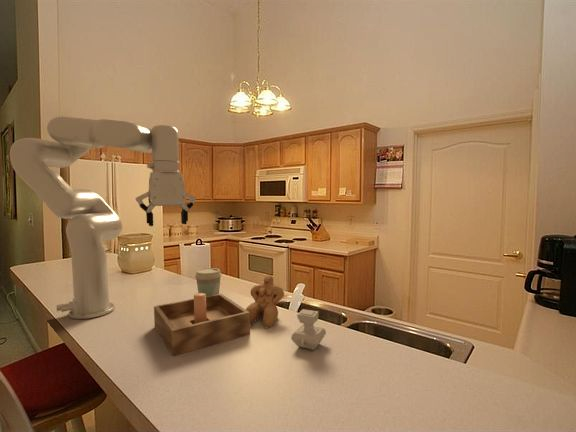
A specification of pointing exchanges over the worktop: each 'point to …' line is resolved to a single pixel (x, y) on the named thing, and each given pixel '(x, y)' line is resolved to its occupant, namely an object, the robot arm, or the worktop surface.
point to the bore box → (189, 336)
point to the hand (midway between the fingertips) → (167, 224)
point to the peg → (200, 308)
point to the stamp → (308, 330)
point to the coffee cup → (208, 281)
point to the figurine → (265, 302)
